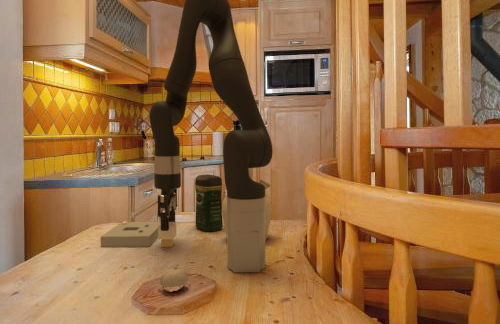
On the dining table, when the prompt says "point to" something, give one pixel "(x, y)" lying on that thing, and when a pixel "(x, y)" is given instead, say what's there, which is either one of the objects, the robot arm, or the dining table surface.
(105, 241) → the socket
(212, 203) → the coffee jar
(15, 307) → the dining table surface
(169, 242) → the plug
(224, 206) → the jug
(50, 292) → the dining table surface
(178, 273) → the garlic
